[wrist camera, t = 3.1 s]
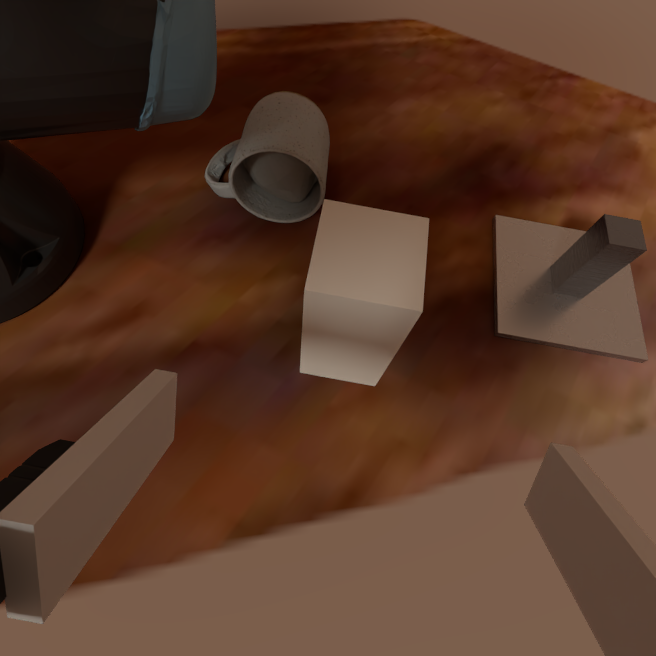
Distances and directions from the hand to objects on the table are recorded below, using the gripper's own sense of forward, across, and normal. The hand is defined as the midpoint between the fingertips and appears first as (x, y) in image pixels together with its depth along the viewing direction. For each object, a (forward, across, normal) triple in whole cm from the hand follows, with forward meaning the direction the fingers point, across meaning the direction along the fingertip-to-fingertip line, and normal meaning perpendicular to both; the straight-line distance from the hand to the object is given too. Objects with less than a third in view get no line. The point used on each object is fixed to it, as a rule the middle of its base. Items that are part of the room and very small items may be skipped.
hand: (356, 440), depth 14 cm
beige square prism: (+17, 0, -3) cm, 17 cm away
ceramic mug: (+26, -9, +6) cm, 29 cm away
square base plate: (+23, +18, +3) cm, 29 cm away
